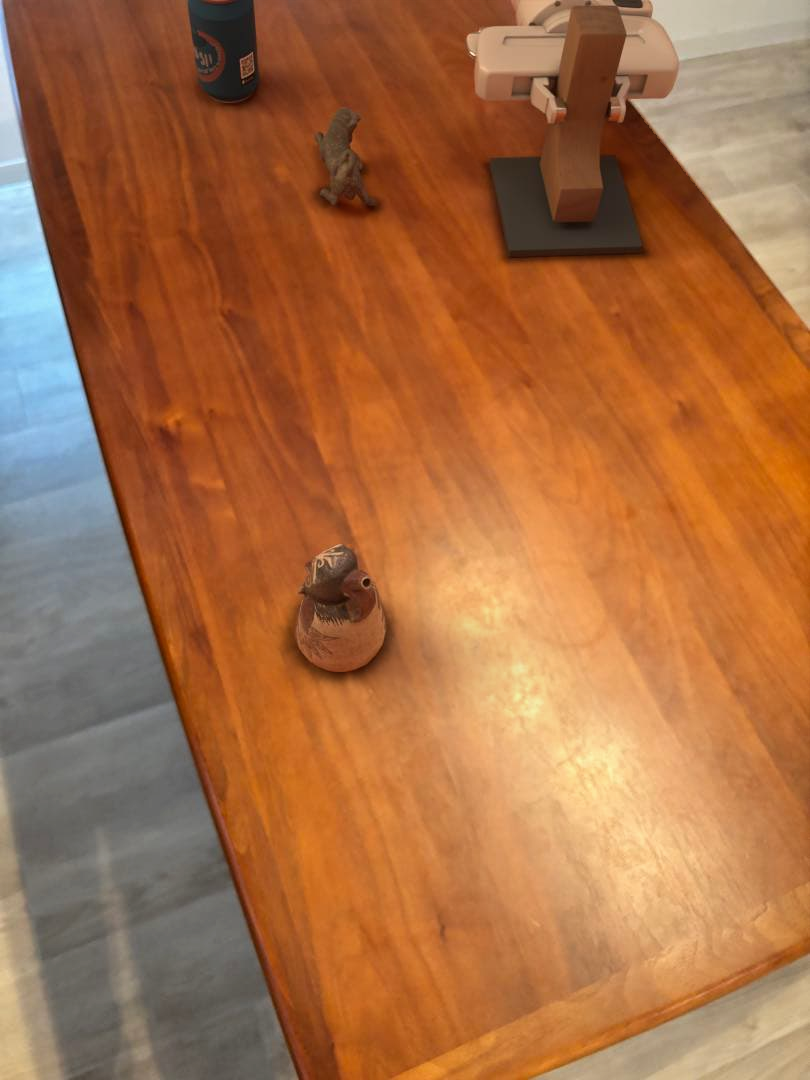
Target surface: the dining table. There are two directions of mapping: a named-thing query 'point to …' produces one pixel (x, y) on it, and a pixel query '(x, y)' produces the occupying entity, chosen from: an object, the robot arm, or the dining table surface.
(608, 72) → the wooden block
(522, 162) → the mat
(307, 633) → the figurine
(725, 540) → the dining table surface
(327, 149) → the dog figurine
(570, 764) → the dining table surface
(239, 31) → the soda can
